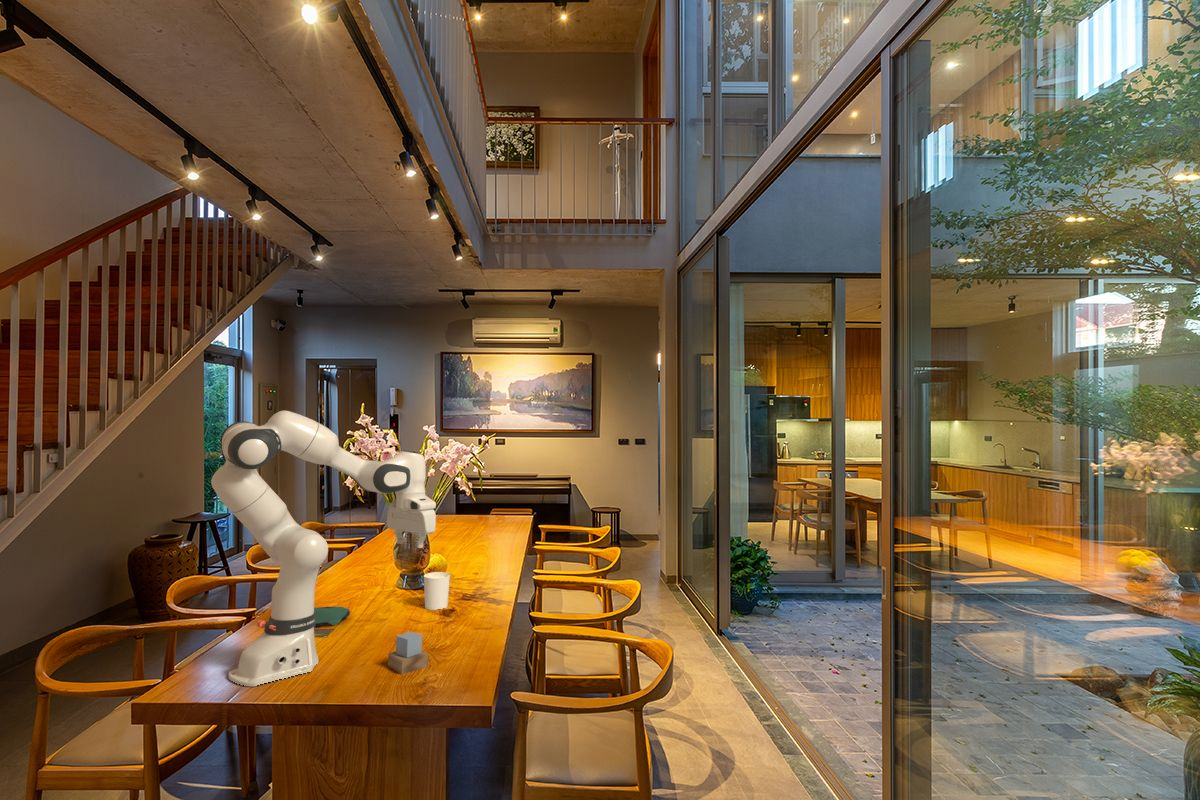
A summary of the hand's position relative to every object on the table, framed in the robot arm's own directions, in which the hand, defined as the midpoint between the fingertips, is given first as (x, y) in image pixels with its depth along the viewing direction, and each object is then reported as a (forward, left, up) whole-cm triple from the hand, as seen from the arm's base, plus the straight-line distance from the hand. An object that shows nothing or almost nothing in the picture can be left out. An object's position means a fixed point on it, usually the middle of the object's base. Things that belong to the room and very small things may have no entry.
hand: (409, 545), depth 197 cm
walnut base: (-12, -15, -31) cm, 36 cm away
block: (-12, -15, -27) cm, 33 cm away
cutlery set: (-6, +41, -31) cm, 52 cm away
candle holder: (+32, +24, -31) cm, 50 cm away
